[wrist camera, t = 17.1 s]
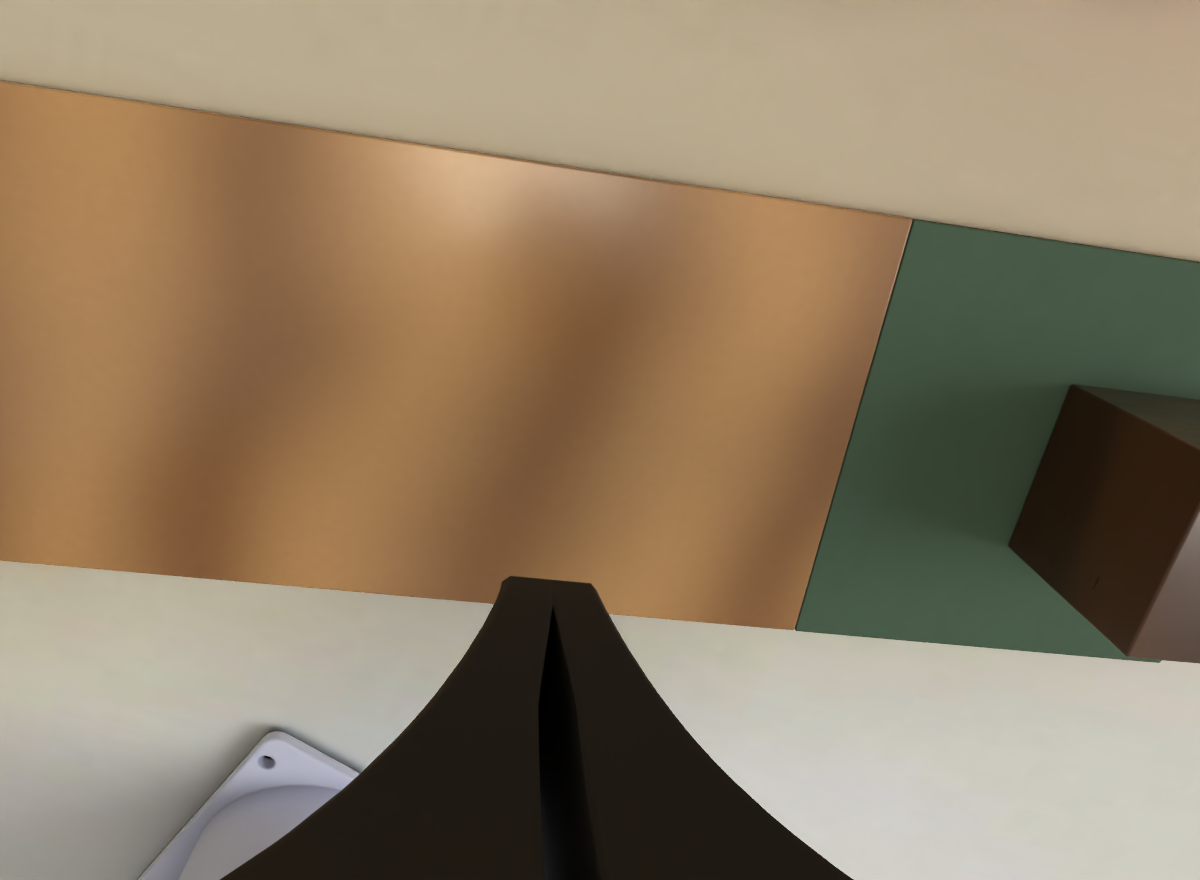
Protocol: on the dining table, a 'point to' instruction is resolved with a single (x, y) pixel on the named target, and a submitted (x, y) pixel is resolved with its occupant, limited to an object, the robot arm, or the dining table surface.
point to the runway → (418, 364)
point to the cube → (1121, 518)
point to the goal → (985, 431)
